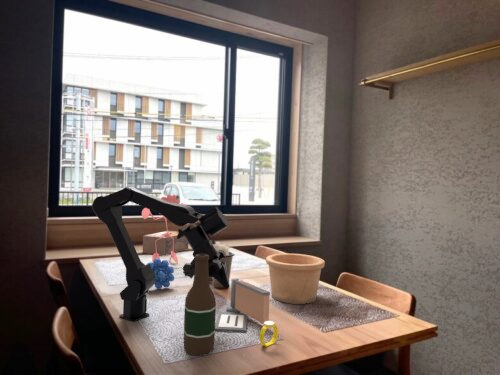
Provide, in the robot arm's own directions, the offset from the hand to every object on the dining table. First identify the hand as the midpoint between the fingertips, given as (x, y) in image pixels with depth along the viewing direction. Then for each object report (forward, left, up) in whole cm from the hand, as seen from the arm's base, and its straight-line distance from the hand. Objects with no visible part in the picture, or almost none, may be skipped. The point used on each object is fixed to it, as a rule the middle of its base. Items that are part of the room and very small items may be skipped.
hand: (228, 287), depth 113 cm
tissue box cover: (+72, +93, -11) cm, 118 cm away
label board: (+4, +1, -11) cm, 12 cm away
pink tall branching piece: (+44, +65, -11) cm, 79 cm away
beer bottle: (-18, -4, -11) cm, 22 cm away
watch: (-5, -17, -11) cm, 21 cm away
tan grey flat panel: (+8, -3, -9) cm, 12 cm away
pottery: (+37, -5, -11) cm, 39 cm away
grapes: (+13, +40, -11) cm, 43 cm away
